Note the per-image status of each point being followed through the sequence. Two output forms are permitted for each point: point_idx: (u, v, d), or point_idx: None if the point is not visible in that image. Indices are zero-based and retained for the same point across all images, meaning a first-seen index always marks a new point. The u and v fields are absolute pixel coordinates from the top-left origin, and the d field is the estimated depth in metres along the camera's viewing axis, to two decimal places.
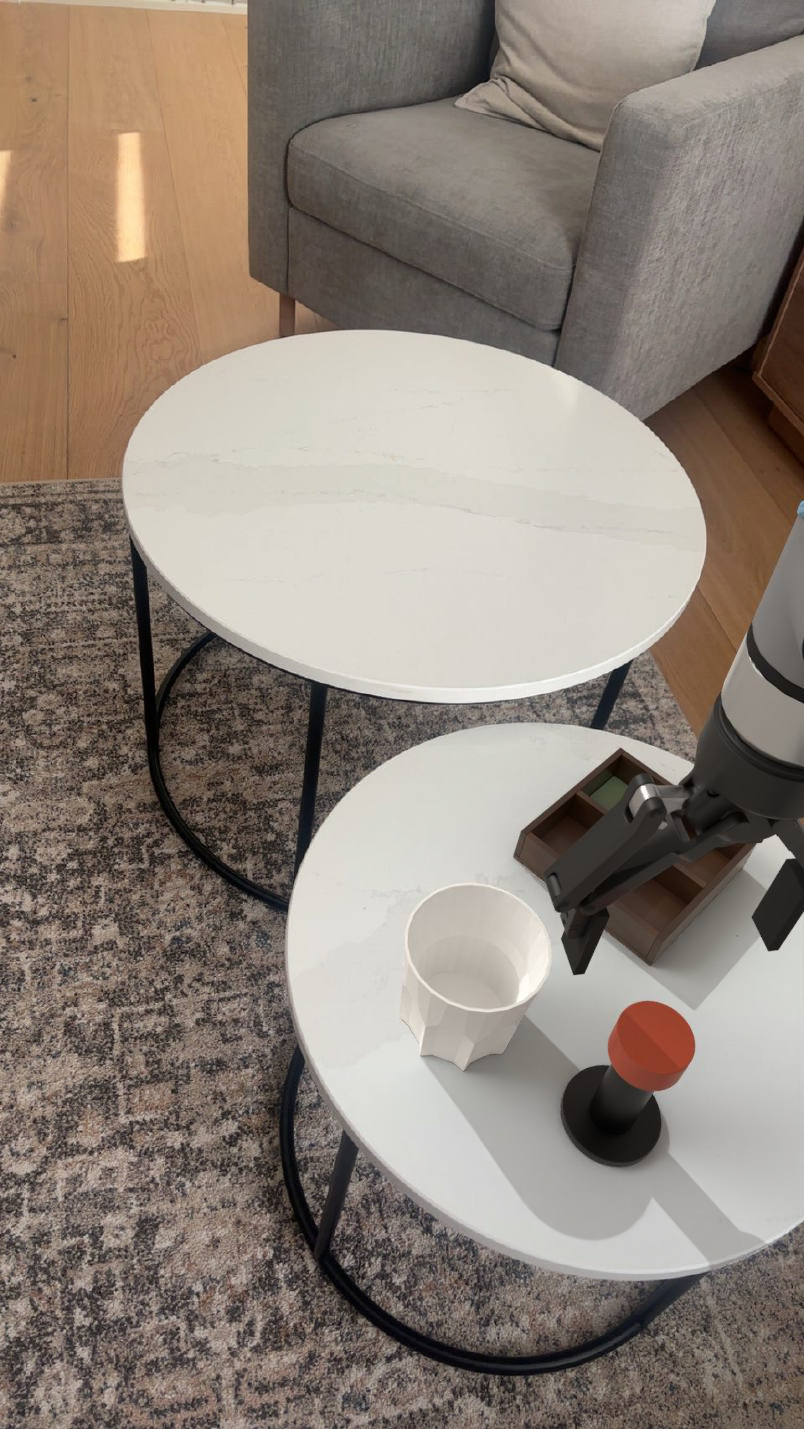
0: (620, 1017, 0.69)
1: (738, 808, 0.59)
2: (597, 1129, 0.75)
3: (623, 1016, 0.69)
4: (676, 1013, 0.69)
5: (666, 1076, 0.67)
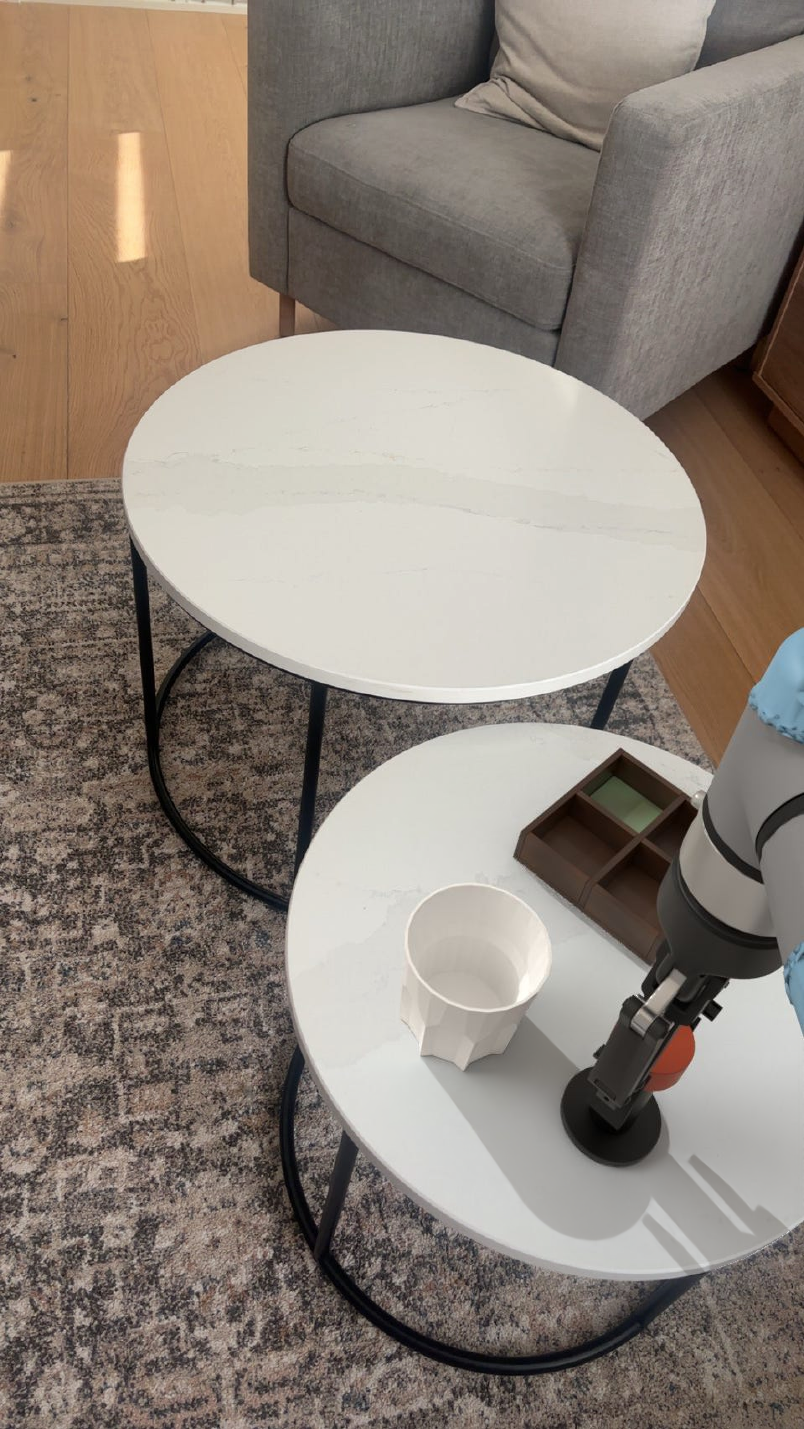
0: None
1: None
2: (597, 1129, 0.75)
3: None
4: None
5: (666, 1076, 0.67)
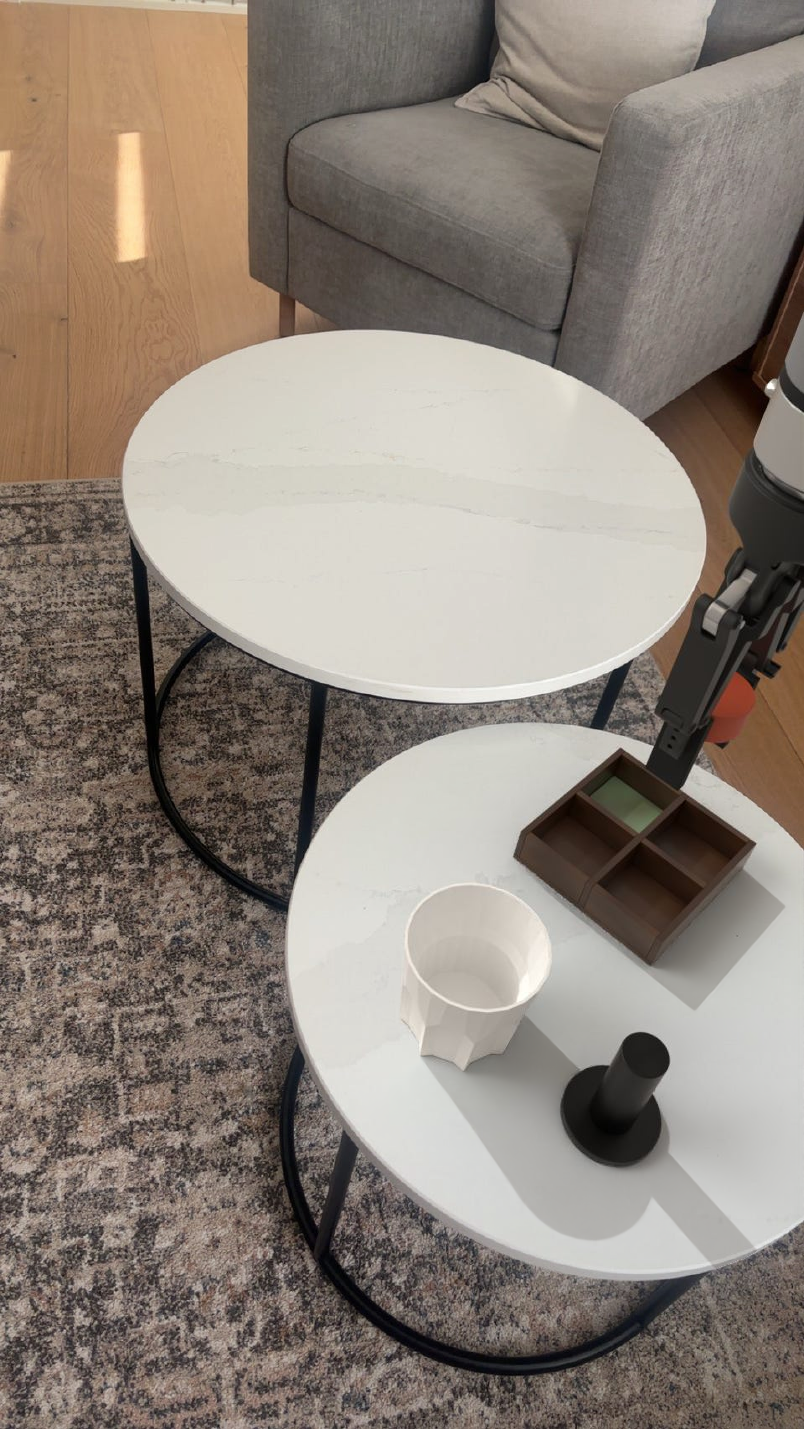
0: None
1: (782, 575, 0.61)
2: (597, 1129, 0.75)
3: None
4: (736, 673, 0.71)
5: (728, 722, 0.69)
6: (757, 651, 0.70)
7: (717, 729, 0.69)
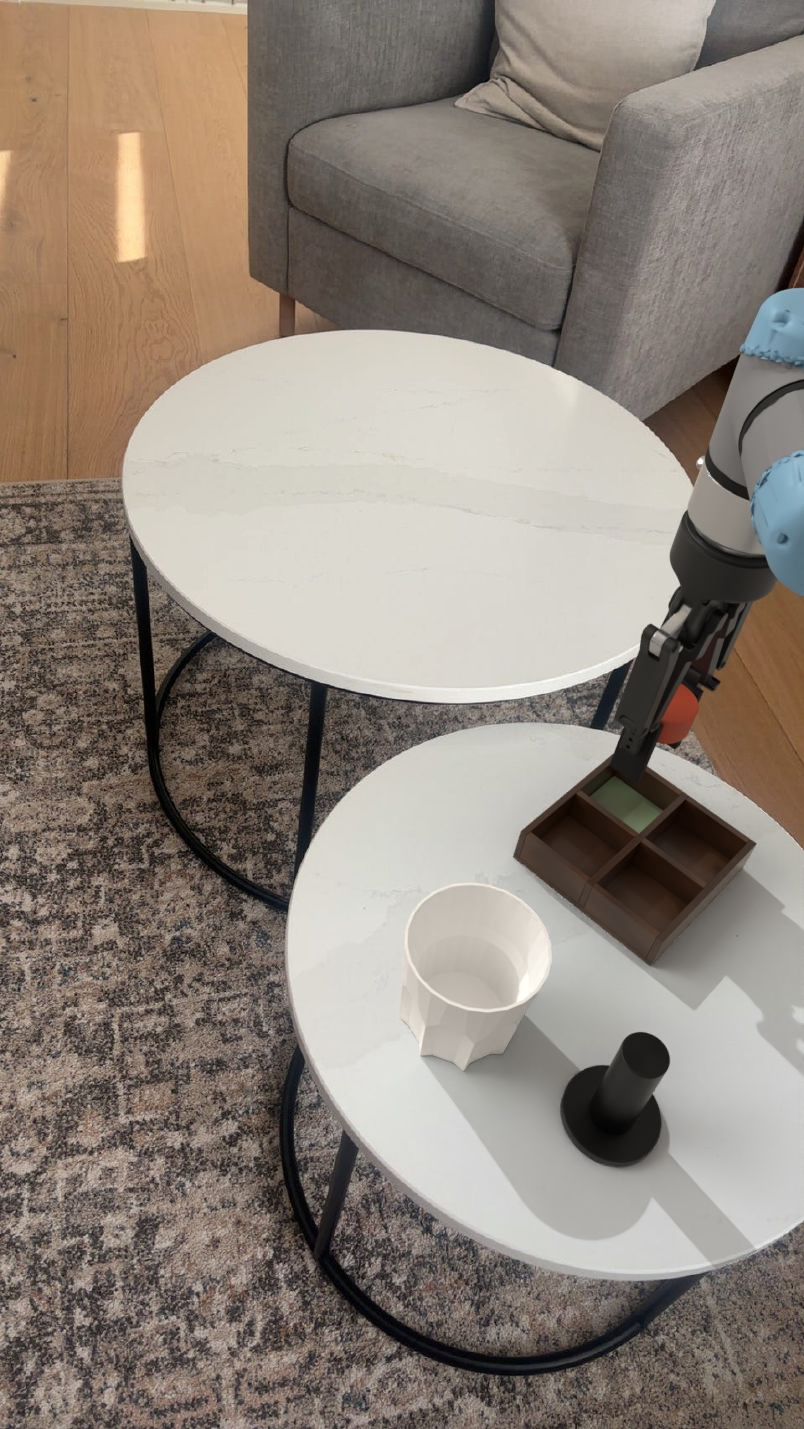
0: None
1: (713, 609, 0.76)
2: (597, 1129, 0.75)
3: None
4: (683, 686, 0.87)
5: (675, 726, 0.84)
6: (700, 669, 0.85)
7: (667, 732, 0.84)
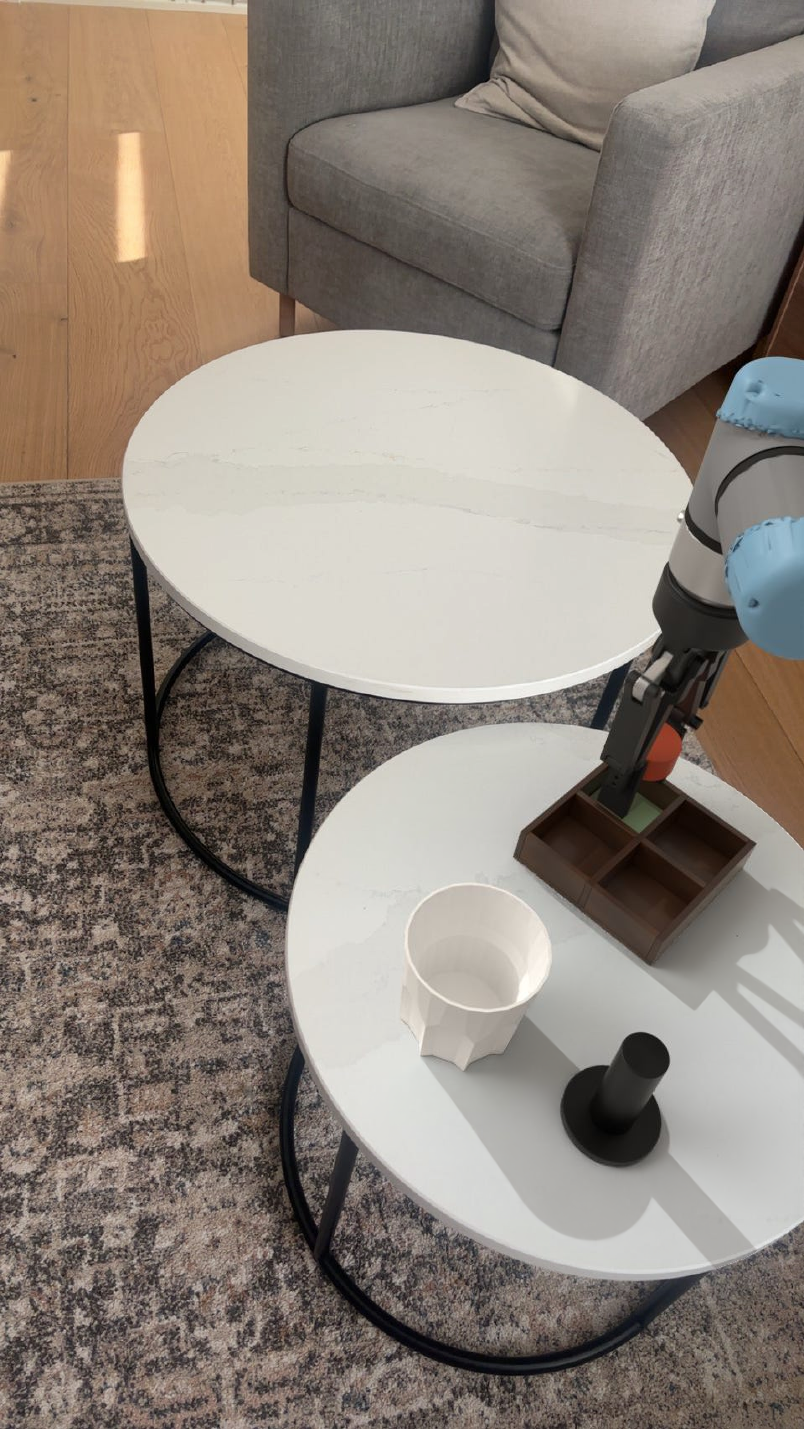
0: None
1: (694, 656, 0.79)
2: (597, 1129, 0.75)
3: None
4: (667, 725, 0.90)
5: (659, 764, 0.87)
6: (683, 708, 0.88)
7: (651, 770, 0.87)
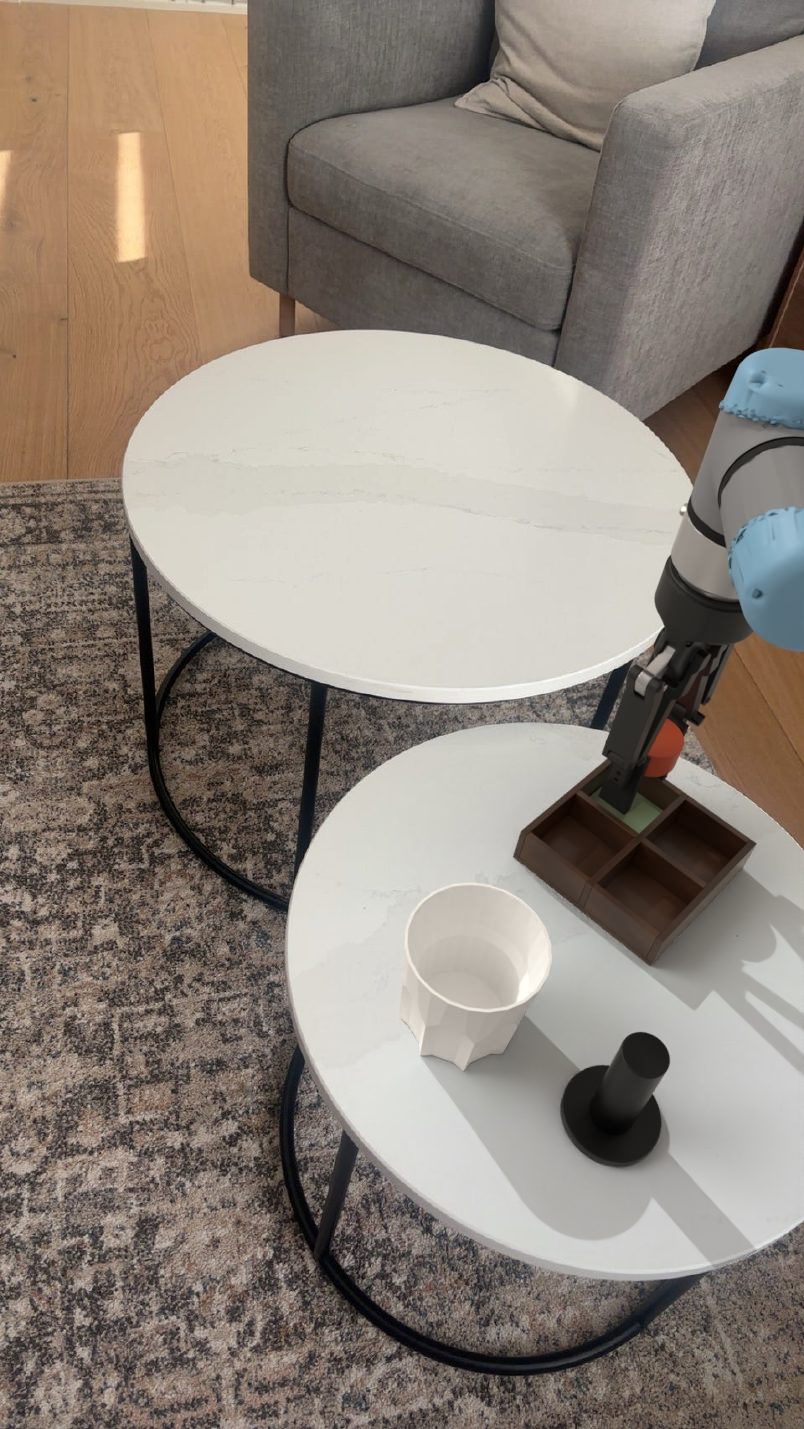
0: None
1: (696, 650, 0.79)
2: (597, 1129, 0.75)
3: None
4: (669, 721, 0.89)
5: (661, 760, 0.87)
6: (685, 704, 0.88)
7: (653, 766, 0.87)
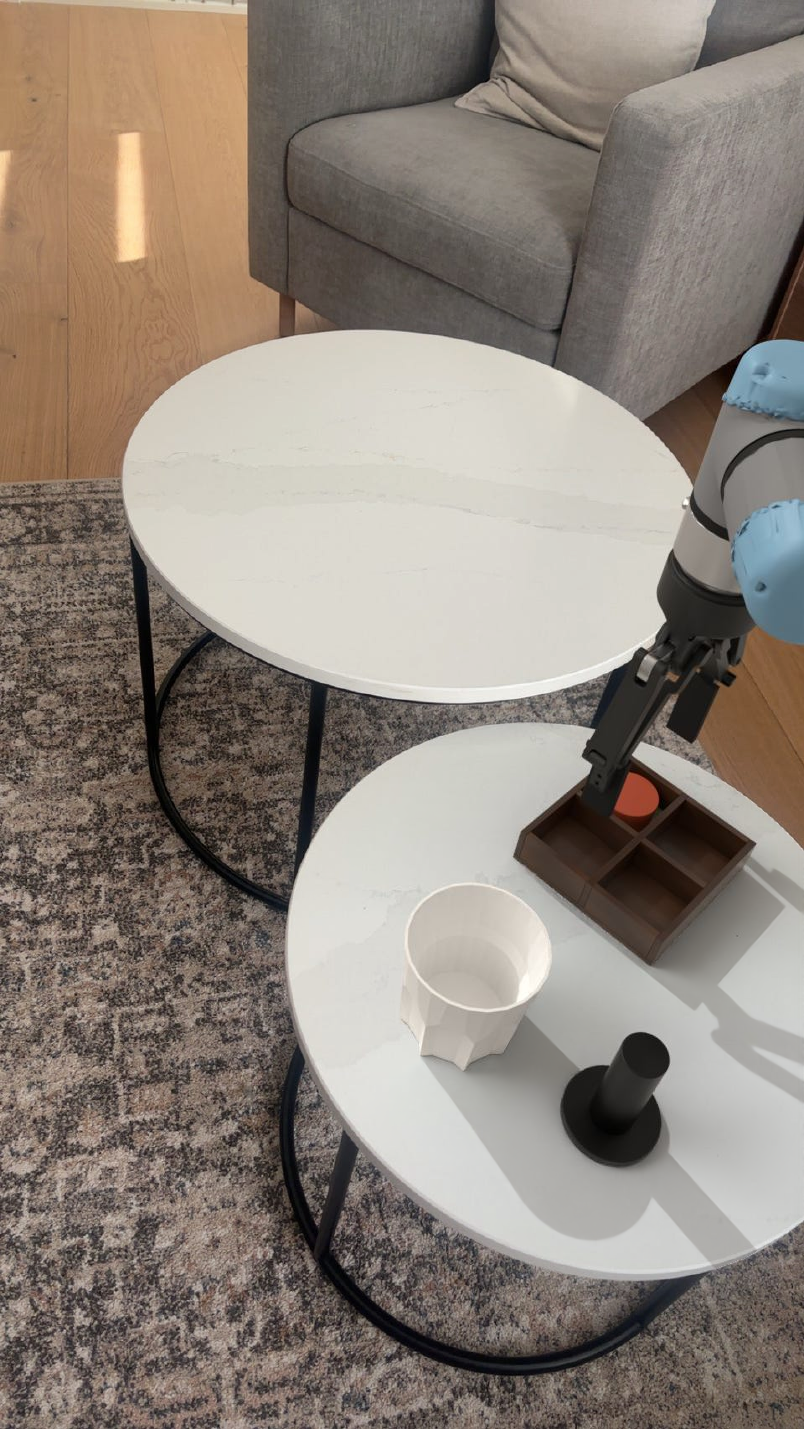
0: None
1: (701, 641, 0.78)
2: (597, 1129, 0.75)
3: None
4: (645, 780, 0.95)
5: (637, 819, 0.92)
6: (712, 671, 0.88)
7: (629, 824, 0.93)
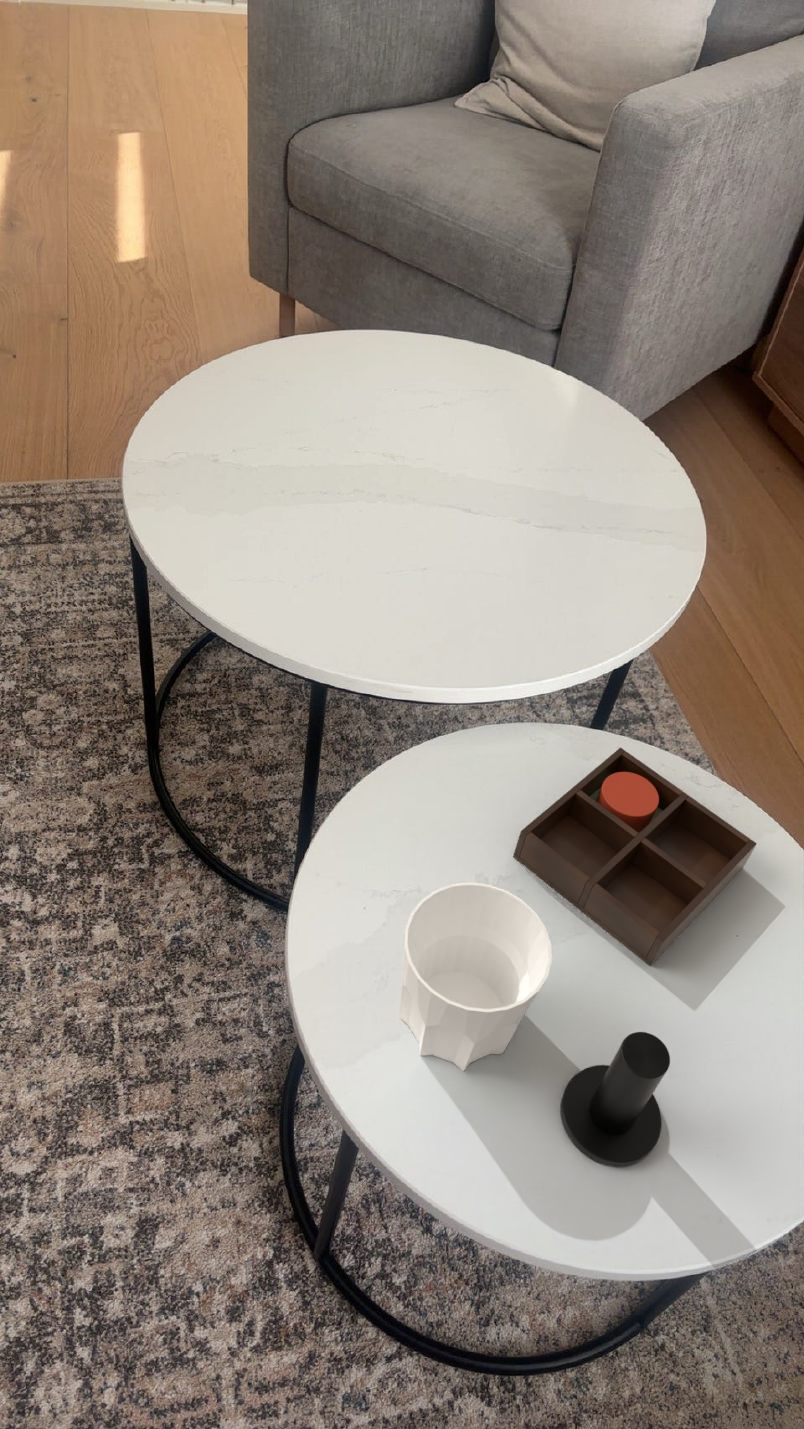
0: (604, 781, 0.94)
1: None
2: (597, 1129, 0.75)
3: (606, 780, 0.94)
4: (645, 780, 0.95)
5: (637, 819, 0.92)
6: None
7: (629, 824, 0.93)
